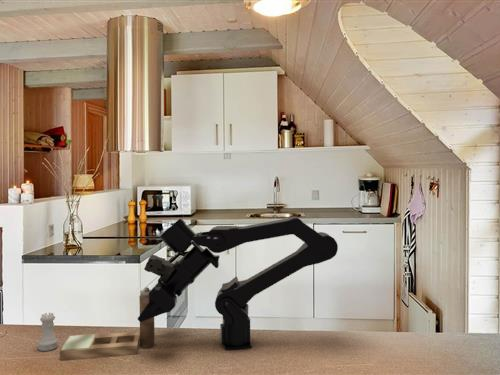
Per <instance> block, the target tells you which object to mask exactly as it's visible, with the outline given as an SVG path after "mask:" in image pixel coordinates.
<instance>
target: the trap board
mask: <svg viewBox="0 0 500 375" xmlns="http://www.w3.org/2000/svg"><path fill="white" fill-rule="evenodd" d="M139 348H140V330H139V331H129V332H128V331H125V332H115V333H112V332H111V333H99V334H96V333H92V334H78V335H77V334H76V335H69V336H68V337H67V338H66V341H65V342H64V343H63V345H62V347H61V349H60V350H59V361H67V360H69V361H70V360H80V359H91V358H104V357H105V358H106V357H115V356H126V355H127V356H128V355H129V356H130V355H138V353H139V352H138V351H139Z"/></svg>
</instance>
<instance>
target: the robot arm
mask: <svg viewBox="0 0 500 375" xmlns="http://www.w3.org/2000/svg"><path fill="white" fill-rule="evenodd" d="M291 235H292V236H293V235H294V236H295V237H296V238H298V239H299V240H301V241H302V242H303V243H302V245H301V246H300V247H299V248H298V249H297V250H296V251H294V252H292V253H290V254H289V255H287V256H285V257H284V258H282V259H281V260H279V261H277V262H274V263H273V264H272V265H269V266H268V267H267V268H264V269H263V270H261V271H259V272H257V273H255V274H254V275H252V276H250V277H249V278H247V279H244V280H243V279H242V280H239V279H238V277H237V276H234V277H233V278H232V279H231V280H230V281H227V282H225V283H222V285H221V288H220V289H219V290H218V292H217V295H216V297H215V302H214V307H215V309H216V311H217V313H218V314H220V315H222V323H220V324H219V325H220V326H219V328H220V329H219V330H220V332H219V333H220V336H219V337H220V344H221V345H223V347H224V350H237V349H250V348H253V344H252V342H251V318H250V316H249V304H248V303H249V302H250V301H251V300H252V298H254V297H255V296H257V295H258V294H260V293H261V292H264V291H265V290H267V289H268V288H270V287H272V286H273V285H275V284H277V283H279V282H281V281H282V280H284V279H287V277H290V276H291V275H293V274H295V273H297V272H298V271H300V270H302V269H304V268H306V267H309V266H313V265H319V264H321V263H324V262H327V261H329V260H331V259H334V257H335V256H336V255H337V253H338V249H339V248H338V247H339V245H338V242H337V240H336V239H335V238H334V237H332V235H330V234H328V233H326V232H322V231H320V232H319V231H316V230H315V229H313V228H312V227H310V226H309V225H308V224H306V223H305V222H303V221H302V220H301V219H300V218H299V217H298V216H290V217H287V218H283V219H277V220H276V219H275V220H273V221H272V220H271V221H266V222H261V223H255V224H249V225H244V226H243V225H241V226H239V225H237V226H235V225H216V226H213V227H212V228H210V230H208V231H203V232H202V231H200V232H195V231H194V230H193V229H192V228H190V227H189V226H188V225H187V223H186V221H185V220H184V219H183V218H178V219H177V220H176V221H175V222H174V223H173V224H172V225H171V226H169V227H168V228H167V229H166V230H165V231H164V232H162V234H161V235H160V236H159V239H160V240H161V241H162V242H163V243H165V245H166V246H167V247H168V248H170V250H171V251H172V252H174V254H175V255H176V254H181V255H183V254H184V253H185V252H186V251H187V250H188V249H189V248H190V247H191V246H192V248H190V250H188V252H187V253H186V254H185V255H184V256H183V257H182V258H180V259H179V260H176V262H174V263H172V262H170V261H168V260H167V259H164V258H162V257H160V256H158V255H155V254H151V255H150V256H149V258H148V259H147V262H146V264H145V265H144V266H145V267H144V271H146V272H147V273H152V274H154V275H156V276H159V278H158V279H157V283H156V284H155V285H154V286H153V287H152V288H151V289H150V290H151V291H150V292H149V303H148V304H147V306H146V307H145V308H144V310H143V311H142V313H141V314H140V313H139V316H138V317H137V321H138V322H139V323H140V322H142V321H145V320H147V319H150V318H152V317H154V318H156V317H158V316H160V315H163V314H167V313H170V312H171V311H172V310H173V309H174V308H176V305H177V303H178V297H180V296H181V295H182V294H183V292H184V290H185V289H187V288H188V287H189V286H190V285H192V284H193V283H194V282H195V280H196V279H197V278H198V277H199V276H200V275H201V274H202V273H203V272H204V271H205V270H206V269H207V268H208V266H210V264H211V265H212V266H213V267H214V268H215V269H219V266H220V263H219V260H220V256H221V255H220V253H223V252H226V251H229V250H232V249H234V248H236V247H238V246H240V245H243V244H246V243H251V242H257V241H261V240H268V239H274V238H279V237H284V236H291ZM203 247H205V248H203ZM213 253H214V254H213ZM217 253H218V254H219V255H218V254H217ZM215 254H217V255H215Z"/></svg>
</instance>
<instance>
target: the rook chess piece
mask: <svg viewBox="0 0 500 375" xmlns="http://www.w3.org/2000/svg"><path fill="white" fill-rule="evenodd" d="M55 318H56V316H55V315H54V313H53V312H48V313H47V312H45V313H43V314H41V317H40V319H39V320H40V321H41V325H40V327H41V336H40V338H39V340H38V342H37V349H38V350H39V351H40V352H48V351H53V350H55V349H57V348H58V346H59V343H58V338H57V337H56V335H55V331H54V325H55V322H54V320H55Z"/></svg>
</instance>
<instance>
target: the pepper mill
mask: <svg viewBox="0 0 500 375" xmlns="http://www.w3.org/2000/svg"><path fill="white" fill-rule="evenodd" d="M150 291H151V289H150V288H149V287H148V286H147V287H144V289H143V290H140V292H139V298H138V299H139V315H140V314H141V313H142V311H143V310H144V308H145V307H146V306H147V304H148V303H149V292H150ZM139 331H140V341H139V348H141V349H152V348H153V347H155V346H156V344H155V342H156V341H155V340H156V338H155V317H152V318H150V319H147V320H145V321H142V322H140V321H139Z"/></svg>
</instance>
